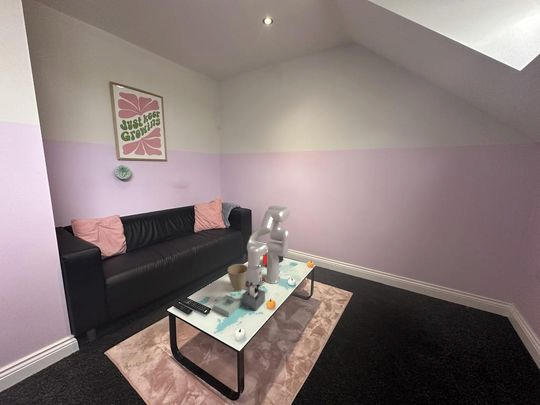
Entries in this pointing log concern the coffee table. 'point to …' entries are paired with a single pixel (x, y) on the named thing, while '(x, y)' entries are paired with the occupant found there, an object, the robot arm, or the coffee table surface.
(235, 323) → the coffee table surface
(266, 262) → the game console
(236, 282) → the plant pot
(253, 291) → the plug
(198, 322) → the coffee table surface
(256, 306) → the dark grey rounded block
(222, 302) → the block
